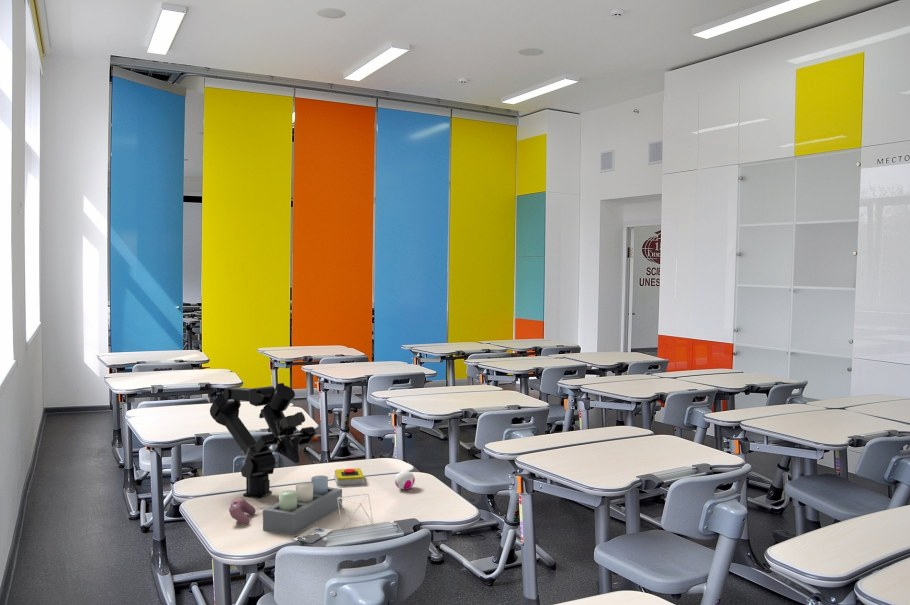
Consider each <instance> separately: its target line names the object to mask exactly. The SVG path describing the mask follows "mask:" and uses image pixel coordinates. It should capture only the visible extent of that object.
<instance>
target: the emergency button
mask: <svg viewBox="0 0 910 605" xmlns="http://www.w3.org/2000/svg"><path fill="white" fill-rule="evenodd" d="M333 477H334V478H333V479H334V480H335V485H336V488H338V489H342V488H355V487H365V486H366V484H365V475H364V473H363V471H362V469H361V468H359V467H357V468H354V467H353V468H337V469H334V475H333Z"/></svg>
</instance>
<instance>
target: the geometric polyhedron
mask: <svg viewBox="0 0 910 605" xmlns="http://www.w3.org/2000/svg"><path fill="white" fill-rule="evenodd" d="M359 496H360V494H355V495H353V494H352V495H345V496H342V497H338V498H339V499H342V501H347V502H351V503H354V504H358V506H357V508H356V509H355V511H354V512H353V513H352V515H351V516H350V515H349V514H348V512H347V510H346V508H345V507H344V505H343V502H342V503H341V502H340V500H339V499H338V498H337V500H339V502H340V503H341V505H342V507H341V508H343V510H344V511H345V513H346V515H347V517H348V518H349V519H348V520H347V522H346V523H345V525H344V526H343V524H342V517H341V510H340V509H341V508H340V509H338V514H339V520H340V521H339V522H340V527H341V528H340V529H341V530H343V529H345V527H346V525H347V524H348V523H349V521H351V520H354V521H357V522H360V523H363V524H368V525H370V524H374V520H373V512H372V508H371V507H372V506H371V501H370V494H369V493H363V494H361V496H365V497H364V498H363V500H362V501H361V502H356V501H354V500H353V501H352V500H349V499H345V498H349V497H359ZM367 497H368V502H369V503H368V504H369V510H370V515H371V517H370V516H369V515H368V513H367V511H366V510H365V508H364V506H363V505H362V504H363V502H365V500H366V498H367ZM339 502H338V507H339ZM360 506H361V507H362V509H363V511H364V513H365V514H366V516H367V517H368V519H369V521H370V522H371V523H368V522H366V521H361V520H359V519H355V518H352V517H353V516H354V515H355V513H356V512H357V511H358V509H359V508H360ZM349 528H350V527H348V528H346V530H350V529H349Z"/></svg>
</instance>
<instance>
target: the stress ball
mask: <svg viewBox="0 0 910 605" xmlns="http://www.w3.org/2000/svg"><path fill="white" fill-rule="evenodd" d="M415 481H416V478H415V475H414V473H412V472H411V471H409V470H402V471H399V472H397V474H396V475H395V477H394V483H395V486H396V487H397V488H398V489H400V490H405V491H407V490H413V491H414V489H412V487H413V486H414V485H415Z"/></svg>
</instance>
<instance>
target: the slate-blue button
mask: <svg viewBox="0 0 910 605" xmlns="http://www.w3.org/2000/svg"><path fill="white" fill-rule="evenodd" d="M310 483H312V484H313V494H318V495H324V494H326V493H328V487H329V476H326V475H315V476H312V477H311V482H310Z"/></svg>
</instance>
